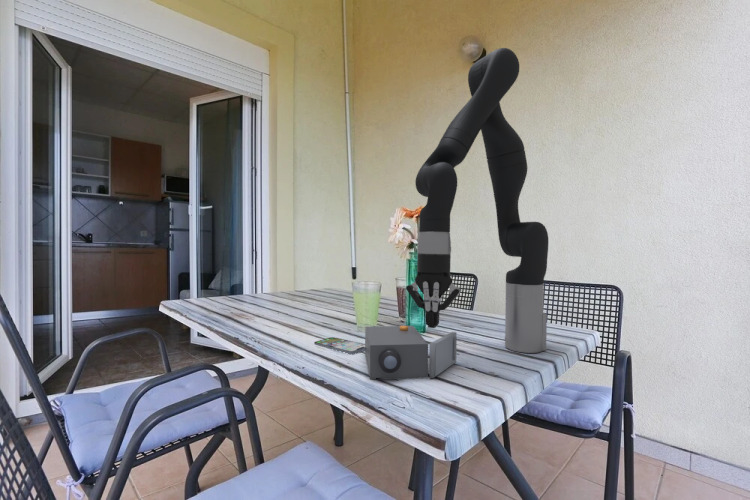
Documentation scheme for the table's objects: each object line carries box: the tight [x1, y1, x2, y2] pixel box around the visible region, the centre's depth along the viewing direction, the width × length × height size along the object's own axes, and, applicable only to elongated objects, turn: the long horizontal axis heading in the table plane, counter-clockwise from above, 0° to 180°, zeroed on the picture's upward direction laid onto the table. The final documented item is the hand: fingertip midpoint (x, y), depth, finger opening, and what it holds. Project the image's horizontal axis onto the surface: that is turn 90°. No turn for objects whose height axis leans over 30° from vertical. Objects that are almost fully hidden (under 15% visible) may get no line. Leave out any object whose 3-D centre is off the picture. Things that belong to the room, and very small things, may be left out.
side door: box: [428, 331, 458, 379], centre depth 78 cm, size 2×12×7 cm, turn 145°
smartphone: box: [313, 336, 365, 355], centre depth 97 cm, size 7×1×15 cm
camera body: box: [364, 325, 429, 380], centre depth 81 cm, size 12×17×8 cm
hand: (432, 327), depth 83 cm, fingers closed
